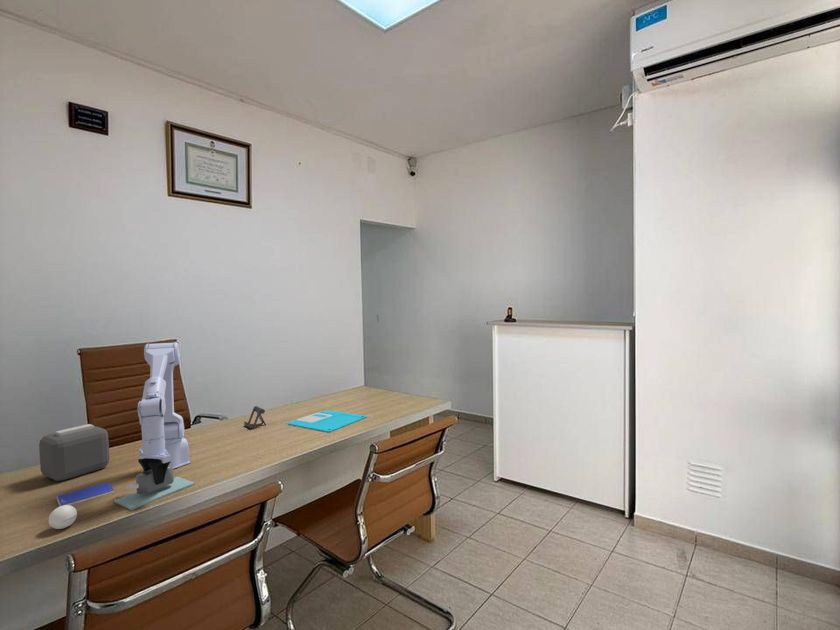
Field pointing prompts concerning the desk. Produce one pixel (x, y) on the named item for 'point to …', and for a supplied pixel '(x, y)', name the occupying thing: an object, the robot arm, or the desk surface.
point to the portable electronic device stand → (259, 412)
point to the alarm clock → (73, 452)
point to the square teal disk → (326, 420)
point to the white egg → (62, 517)
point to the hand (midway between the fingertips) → (155, 481)
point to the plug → (150, 481)
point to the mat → (153, 494)
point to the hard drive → (84, 494)
